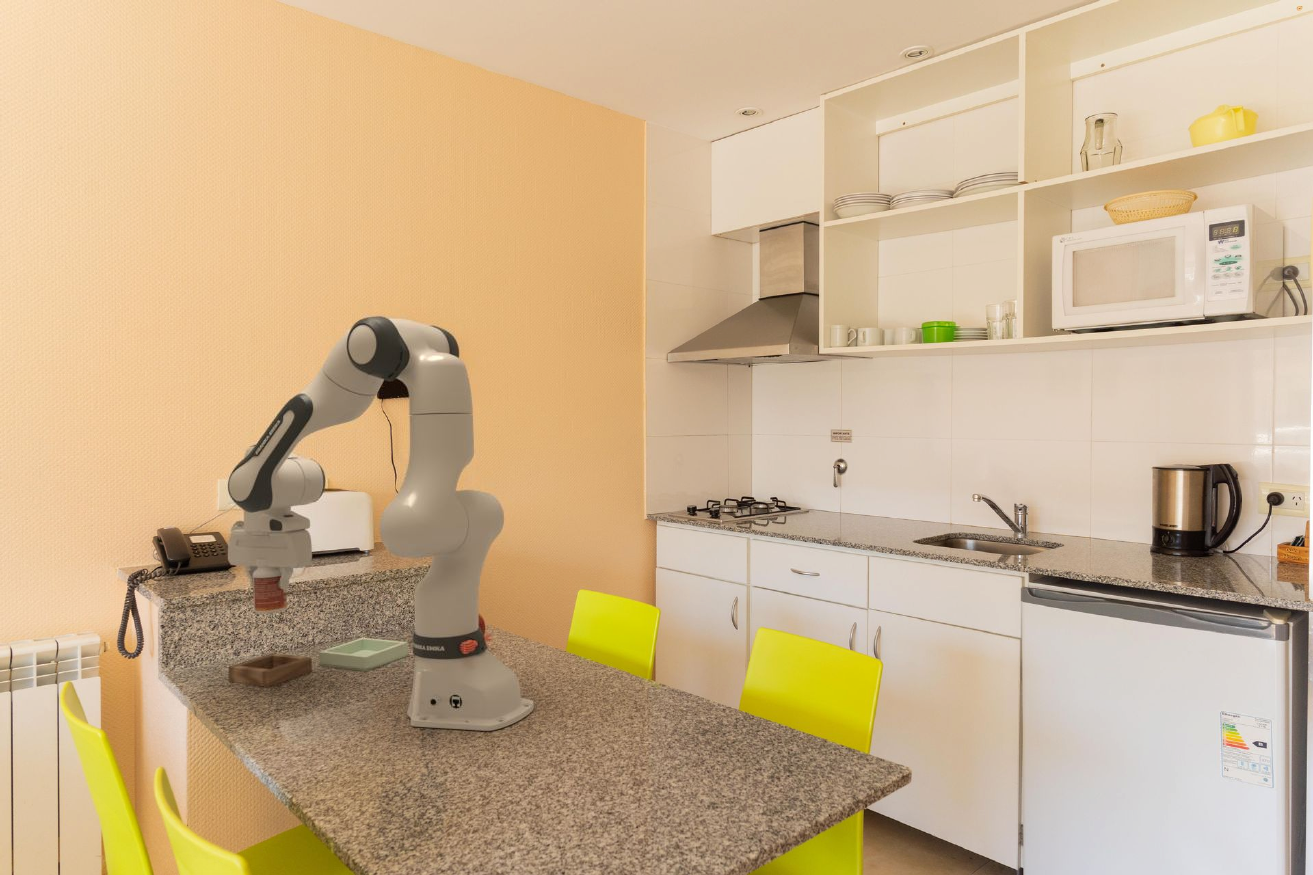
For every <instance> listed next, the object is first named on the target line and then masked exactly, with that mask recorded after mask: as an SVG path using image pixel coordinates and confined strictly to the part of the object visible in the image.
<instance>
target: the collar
mask: <svg viewBox="0 0 1313 875" xmlns="http://www.w3.org/2000/svg"><path fill="white" fill-rule="evenodd" d="M312 660H313V659H312V657H311V656H310V657H307V656H299V655H291V654H284V653H274V652H272V653H269V654H266V655H263V656H260V657H257V658H252V659H251V660H247V661H243V662H241V663H237V664H234V665H230V666H228V682H229V683H234V682H235V683H236V684H240V685H241V684H242V685H250V686H257V687H262V686H264V687H263V688H271V687H274V686H276V685H279V684H282V683H285V682H288V681H290V679H291V680H292V679H296V678H298V677H301V676H300V675H302V676H304V674H305V675H307V674H310V673H312V672H313V666H312V663H313V662H312ZM306 673H307V674H306ZM287 680H288V681H287ZM281 682H282V683H281ZM275 684H276V685H275ZM270 686H271V687H270Z"/></svg>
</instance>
